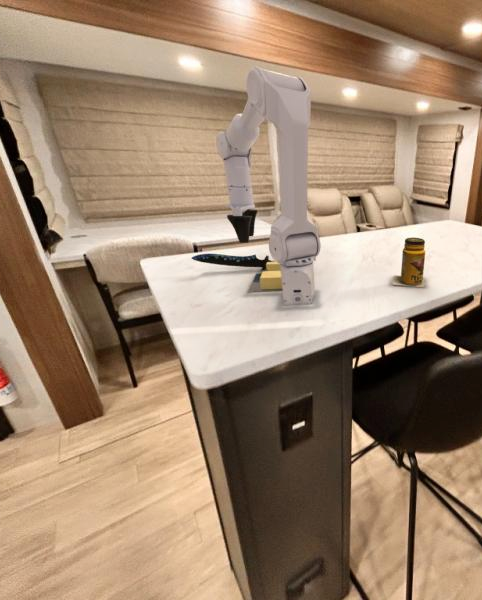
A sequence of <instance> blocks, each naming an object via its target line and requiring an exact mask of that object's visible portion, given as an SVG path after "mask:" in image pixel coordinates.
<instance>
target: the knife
mask: <svg viewBox="0 0 482 600" xmlns="http://www.w3.org/2000/svg"><path fill="white" fill-rule="evenodd" d="M269 257H270V256H269V255H265V257H264V259H260V258H258V257H257V255H256V254H251V255H244V256H241V255H228V254H220V253H200V254H196V255H193V256H192V257H191V260H193V261H195V262H200V263H204V264H209V265H218V266H226V267H239V268H240V267H241V268H243V267H244V268H261V269H260V271H261V272H263V271H266V270H267V269H266V263H267V262H276V261H275V260H271V259H270V258H269Z"/></svg>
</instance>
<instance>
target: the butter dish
mask: <svg viewBox="0 0 482 600" xmlns="http://www.w3.org/2000/svg"><path fill="white" fill-rule="evenodd" d="M261 274H262V272H260V273H256V274H255V276H254V277H253V280H252V282H251V284H250V286H249V287H248V290H247V292H246V293H247V294H249V293H251V294H252V293H272V292H273V293H275V292H283V290H282V289H264V290H261V283H260V277H261Z"/></svg>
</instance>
